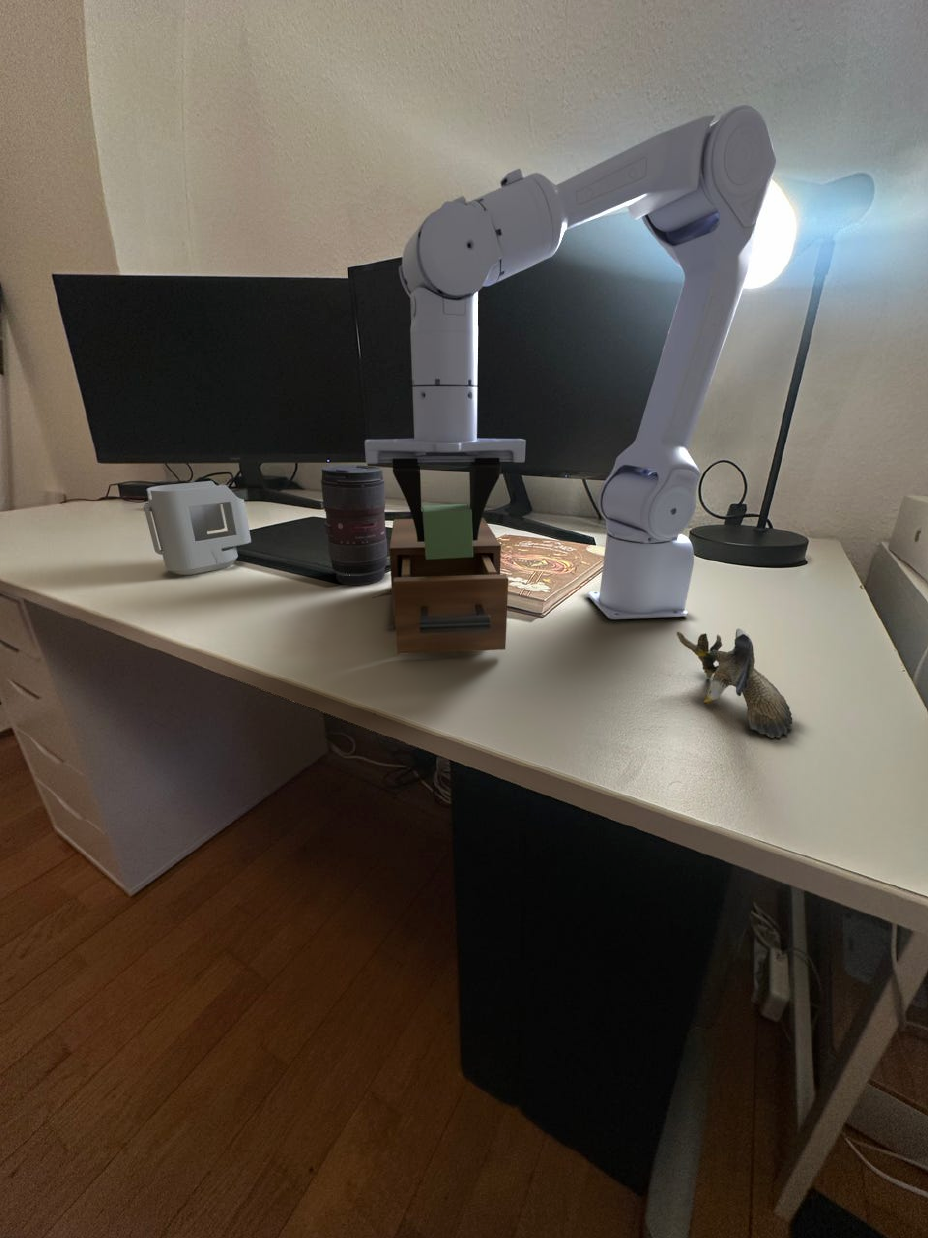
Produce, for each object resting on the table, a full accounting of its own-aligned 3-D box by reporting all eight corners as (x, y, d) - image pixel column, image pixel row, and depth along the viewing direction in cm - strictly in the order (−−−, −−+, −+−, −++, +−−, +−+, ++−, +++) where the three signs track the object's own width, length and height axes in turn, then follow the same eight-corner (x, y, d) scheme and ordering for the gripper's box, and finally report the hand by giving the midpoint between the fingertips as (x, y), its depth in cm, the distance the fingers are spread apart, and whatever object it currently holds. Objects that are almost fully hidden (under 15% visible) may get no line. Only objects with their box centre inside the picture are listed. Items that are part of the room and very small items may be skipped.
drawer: (514, 672, 44) (517, 595, 41) (395, 677, 43) (391, 599, 40) (487, 601, 59) (488, 542, 56) (400, 604, 58) (396, 544, 55)
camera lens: (371, 590, 65) (362, 473, 59) (319, 583, 67) (305, 469, 61) (400, 572, 72) (394, 465, 66) (352, 566, 74) (342, 462, 68)
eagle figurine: (650, 671, 43) (722, 712, 35) (695, 601, 42) (780, 625, 34) (711, 707, 45) (793, 754, 37) (754, 640, 45) (848, 673, 36)
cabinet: (498, 624, 55) (501, 545, 51) (394, 628, 54) (389, 548, 50) (482, 583, 67) (483, 517, 64) (397, 586, 66) (393, 519, 63)
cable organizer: (257, 563, 75) (243, 483, 71) (168, 582, 67) (145, 493, 63) (240, 554, 80) (225, 478, 75) (154, 571, 72) (132, 487, 67)
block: (468, 547, 51) (466, 503, 49) (473, 557, 47) (471, 509, 45) (424, 550, 51) (422, 505, 49) (425, 560, 46) (422, 511, 45)
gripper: (356, 385, 39) (369, 551, 44) (536, 385, 40) (527, 547, 46) (364, 387, 45) (374, 532, 51) (519, 388, 47) (513, 529, 52)
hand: (446, 538), depth 49 cm, fingers closed on block, 4 cm apart
